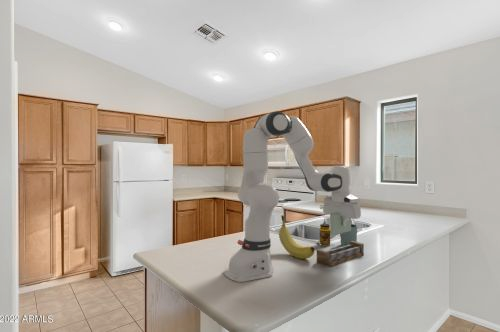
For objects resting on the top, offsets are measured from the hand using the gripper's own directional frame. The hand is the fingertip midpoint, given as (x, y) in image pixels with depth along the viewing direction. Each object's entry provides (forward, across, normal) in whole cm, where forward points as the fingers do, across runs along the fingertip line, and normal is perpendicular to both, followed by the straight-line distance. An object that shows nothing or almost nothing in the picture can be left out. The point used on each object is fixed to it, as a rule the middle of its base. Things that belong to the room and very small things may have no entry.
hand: (340, 225), depth 136 cm
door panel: (+4, 0, 0) cm, 4 cm away
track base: (+17, 0, 0) cm, 17 cm away
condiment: (+17, -22, +13) cm, 30 cm away
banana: (+17, -16, -16) cm, 28 cm away
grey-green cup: (+17, -12, +22) cm, 30 cm away
